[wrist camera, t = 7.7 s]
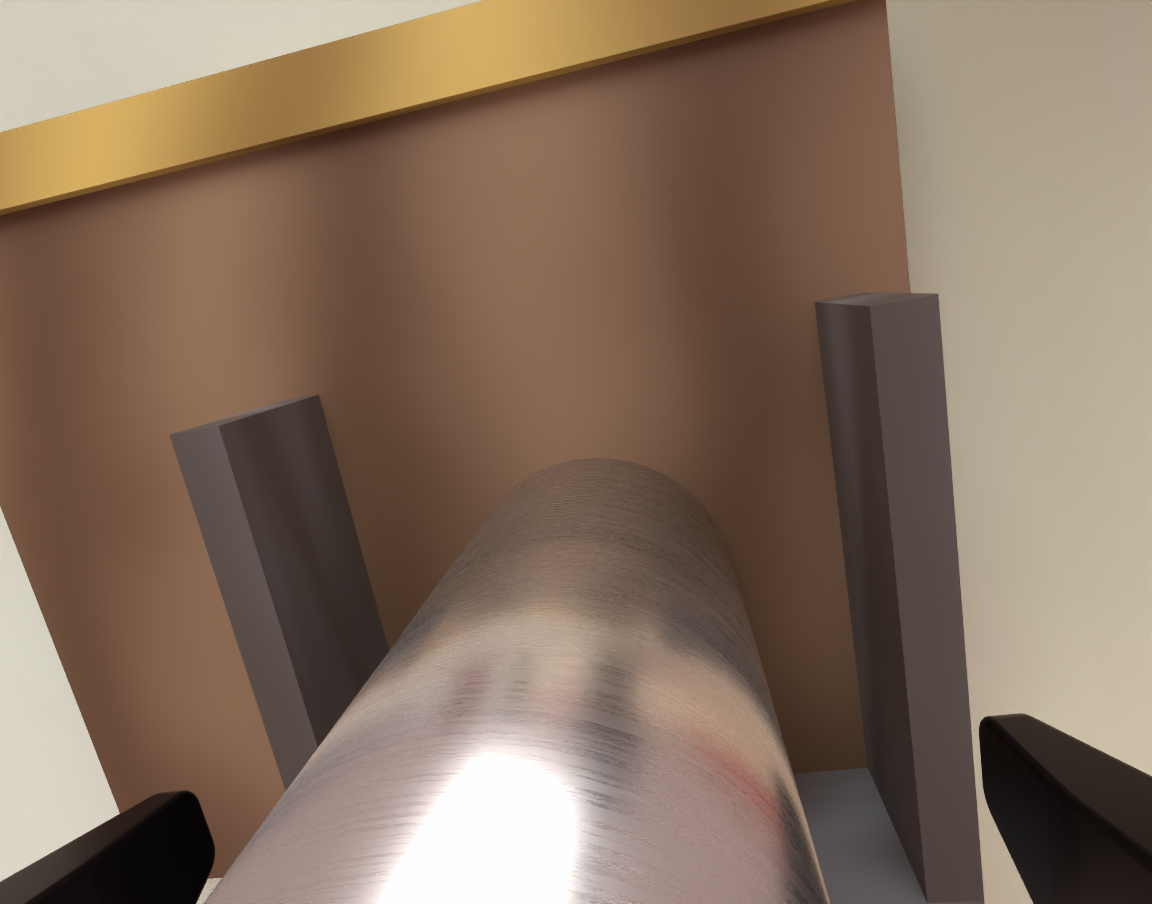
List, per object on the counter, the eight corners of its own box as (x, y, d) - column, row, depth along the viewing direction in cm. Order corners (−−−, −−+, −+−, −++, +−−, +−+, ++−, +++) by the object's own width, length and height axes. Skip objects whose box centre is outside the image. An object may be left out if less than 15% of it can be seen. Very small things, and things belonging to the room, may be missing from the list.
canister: (712, 437, 12) (957, 1052, 2) (751, 687, 13) (1030, 1832, 3) (445, 480, 13) (-211, 1082, 3) (502, 714, 14) (144, 1712, 4)
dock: (841, -35, 12) (968, -258, 7) (917, 758, 15) (1039, 978, 10) (-25, 190, 15) (-363, 141, 10) (202, 818, 18) (34, 1014, 13)
